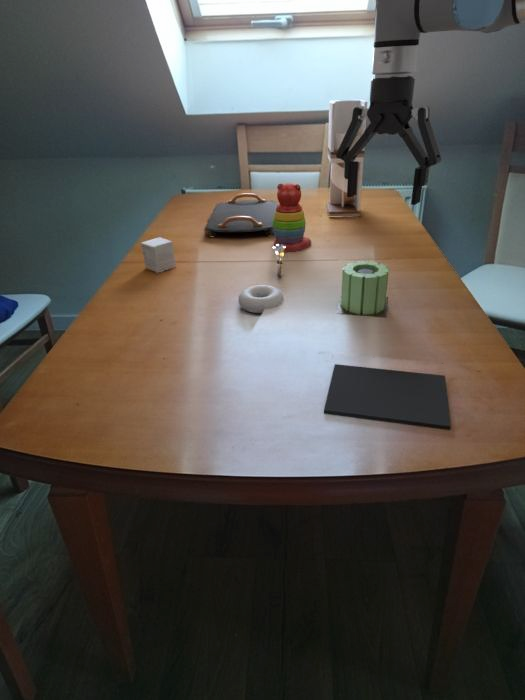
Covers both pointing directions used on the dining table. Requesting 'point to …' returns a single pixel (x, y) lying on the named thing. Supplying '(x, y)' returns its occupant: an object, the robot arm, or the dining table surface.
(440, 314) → the dining table surface
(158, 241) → the product box
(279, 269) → the ring
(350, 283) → the sage ring
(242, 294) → the donut
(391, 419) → the rubber mat
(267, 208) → the serving tray
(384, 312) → the stacking stand
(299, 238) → the stacking bear
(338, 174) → the spiral ramp tower
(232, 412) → the dining table surface
